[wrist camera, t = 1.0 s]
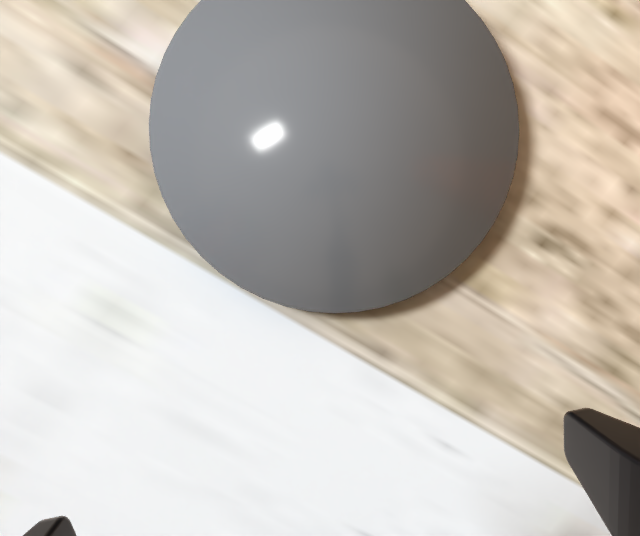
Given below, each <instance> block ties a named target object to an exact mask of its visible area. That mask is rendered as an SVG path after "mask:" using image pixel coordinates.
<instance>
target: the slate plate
mask: <svg viewBox="0 0 640 536" xmlns="http://www.w3.org/2000/svg"><path fill="white" fill-rule="evenodd" d="M149 136H150V151H151V156H152V162H153V167H154V173H155V176H156V179H157V182H158V185H159V188H160V191H161V194H162V197H163V199H164V201H165V203H166V205H167V207H168V209H169V211H170V213H171V216H172V218H173V219H174V221H175V222H176V224H177V225H178V227H179V228H180V230H181V231H182V233H183V235H184V236H185V238H186V239H187V240H188V241H189V242H190V244H191V245H192V246H193V247H194V248H195V249H196V251H197V252H198V253H199V254H200V255H201V256H202V257H203V258H204V259H205V260H206V261H207V262H208V263H209V264H210V265H212V266H213V267H214V268H215V269H216V270H217V271H218V272H219V273H221V274H222V275H223V276H225V277H226V278H228V279H229V280H231V281H232V282H234V283H235V284H237V285H238V286H240V287H241V288H243V289H245V290H247V291H249V292H251V293H253V294H255V295H257V296H259V297H261V298H263V299H266V300H269V301H272V302H275V303H278V304H280V305H283V306H286V307H291V308H296V309H301V310H306V311H312V312H325V313H346V312H360V311H365V310H370V309H375V308H381V307H384V306H388V305H391V304H394V303H397V302H400V301H403V300H406V299H408V298H410V297H412V296H414V295H416V294H418V293H420V292H422V291H424V290H426V289H428V288H429V287H431V286H432V285H434V284H435V283H437V282H438V281H440V280H442V279H443V278H445V277H446V276H448V275H449V274H450V273H451V272H452V271H453V270H454V269H456V268H457V267H458V266H459V265H460V264H461V263H462V262H464V261H465V260H466V259H467V258H468V256H469V255H470V254H471V253H472V252H473V251H474V250H475V248H476V247H477V246H478V245H479V244H480V243H481V242H482V240H483V239H484V237H485V236H486V234H487V233H488V231H489V230H490V228H491V227H492V225H493V224H494V222H495V220H496V218H497V216H498V214H499V212H500V210H501V208H502V206H503V204H504V202H505V200H506V197H507V194H508V191H509V188H510V185H511V182H512V179H513V175H514V170H515V165H516V160H517V155H518V140H519V121H518V107H517V102H516V97H515V92H514V86H513V82H512V79H511V76H510V73H509V70H508V67H507V65H506V62H505V59H504V57H503V55H502V53H501V51H500V49H499V47H498V45H497V43H496V41H495V39H494V37H493V36H492V34H491V33H490V31H489V30H488V28H487V27H486V25H485V24H484V22H483V21H482V19H481V18H480V17H479V16H478V15H477V14H476V12H475V11H474V10H473V9H472V8H471V7H470V5H469V4H468V3H467V2H466V1H465V0H201V1H200V2H199V3H198V4H197V5H196V6H195V7H194V9H193V10H192V11H191V12H190V13H189V14H188V16H187V17H186V19H185V20H184V21H183V23H182V24H181V26H180V27H179V28H178V30H177V31H176V33H175V35H174V37H173V38H172V40H171V42H170V44H169V46H168V48H167V50H166V52H165V54H164V56H163V59H162V62H161V65H160V67H159V70H158V73H157V76H156V80H155V84H154V89H153V93H152V98H151V106H150V117H149Z"/></svg>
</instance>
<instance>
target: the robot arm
mask: <svg viewBox="0 0 640 536" xmlns="http://www.w3.org/2000/svg"><path fill="white" fill-rule="evenodd" d="M564 451H565V455H566V458H567V461H568V463H569V465H570V466H571V468H572V470H573V471H574V473H575V475H576V476H577V478H578V480H579V481H580V483H581V485H582V486H583V488H584V490H585V491H586V493H587V495H588V496H589V498H590V500H591V501H592V503H593V505H594V506H595V508H596V510H597V512H598V513H599V515H600V517H601V518H602V520H603V522H604V523H605V525H606V527H607V528H608V530H609V532H610V533H611V535H612V536H640V428H639V427H636V426H634V425H631V424H629V423H626V422H623V421H621V420H618V419H616V418H613V417H611V416H608V415H606V414H603V413H601V412H598V411H596V410H593V409H590V408H582V409H578V410H573V411H568V412H567V413H566V414H565V416H564ZM23 536H76V533H75V531H74V529H73V526H72V524H71V522H70V520H69V519H68V518H67V517H65V516H59V517H54V518H49V519H44V520H42V521H40V522H38V523H37V524H36V525H35V526H33V527H32V528H31V529H30V530H29V531H28V532H27V533H25V534H24V535H23Z"/></svg>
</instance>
